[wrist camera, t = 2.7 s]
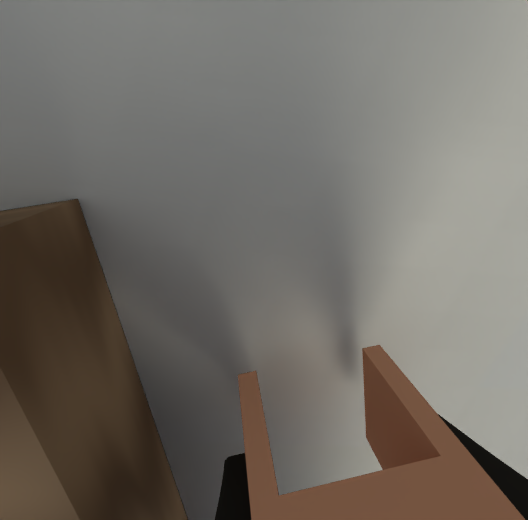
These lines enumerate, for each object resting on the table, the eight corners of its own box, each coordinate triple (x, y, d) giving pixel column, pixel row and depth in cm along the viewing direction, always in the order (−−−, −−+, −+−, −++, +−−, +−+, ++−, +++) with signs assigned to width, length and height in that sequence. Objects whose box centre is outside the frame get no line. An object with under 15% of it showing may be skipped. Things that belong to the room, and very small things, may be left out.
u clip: (381, 433, 12) (503, 645, 7) (256, 463, 12) (287, 710, 7) (379, 344, 11) (530, 525, 6) (237, 374, 10) (258, 598, 5)
